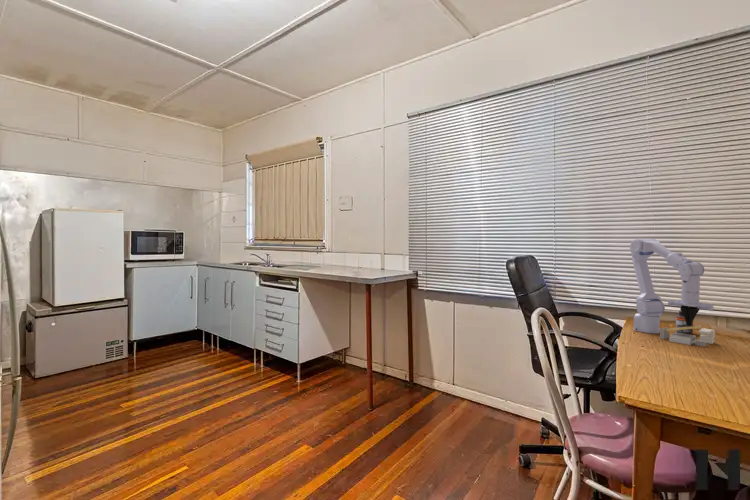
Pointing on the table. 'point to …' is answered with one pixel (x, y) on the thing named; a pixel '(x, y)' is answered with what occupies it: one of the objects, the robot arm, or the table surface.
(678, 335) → the heatsink
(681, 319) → the supplement bottle
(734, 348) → the table surface
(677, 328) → the strap
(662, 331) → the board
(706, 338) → the white l-shaped block
